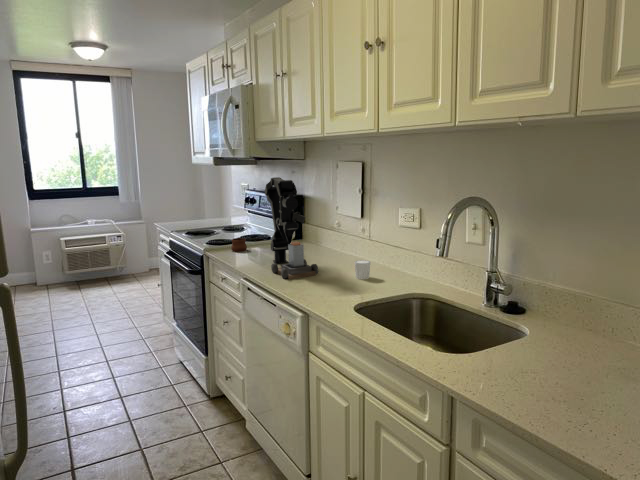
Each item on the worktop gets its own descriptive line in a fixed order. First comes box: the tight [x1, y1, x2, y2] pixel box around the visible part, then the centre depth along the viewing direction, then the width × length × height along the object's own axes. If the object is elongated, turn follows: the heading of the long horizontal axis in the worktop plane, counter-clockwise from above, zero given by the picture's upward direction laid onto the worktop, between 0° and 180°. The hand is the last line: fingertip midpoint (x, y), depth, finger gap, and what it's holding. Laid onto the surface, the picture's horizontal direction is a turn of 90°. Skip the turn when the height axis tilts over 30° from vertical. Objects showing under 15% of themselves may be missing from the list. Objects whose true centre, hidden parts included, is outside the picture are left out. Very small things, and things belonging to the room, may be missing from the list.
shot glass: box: [354, 259, 371, 280], centre depth 201 cm, size 7×7×7 cm
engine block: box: [287, 241, 305, 268], centre depth 207 cm, size 5×5×13 cm
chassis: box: [270, 258, 319, 280], centre depth 210 cm, size 16×16×4 cm
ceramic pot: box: [230, 237, 248, 253], centre depth 262 cm, size 18×18×7 cm
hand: (287, 241), depth 216 cm, fingers open, 9 cm apart
